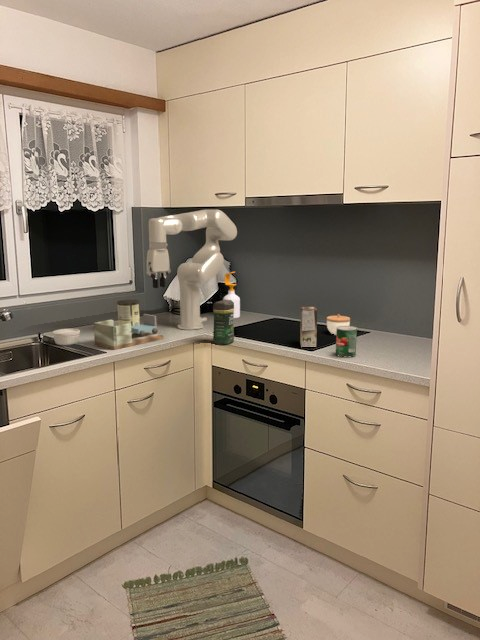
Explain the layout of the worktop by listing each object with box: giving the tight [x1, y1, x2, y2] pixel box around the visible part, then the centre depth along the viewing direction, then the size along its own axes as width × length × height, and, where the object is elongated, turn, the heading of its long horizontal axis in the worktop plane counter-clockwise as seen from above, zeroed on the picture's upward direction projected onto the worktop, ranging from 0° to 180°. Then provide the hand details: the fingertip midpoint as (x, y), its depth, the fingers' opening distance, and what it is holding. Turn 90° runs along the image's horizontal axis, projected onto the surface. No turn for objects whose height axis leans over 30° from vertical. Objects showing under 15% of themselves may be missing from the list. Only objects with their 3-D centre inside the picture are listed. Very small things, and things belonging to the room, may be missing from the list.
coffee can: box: [116, 299, 141, 326], centre depth 255 cm, size 10×10×14 cm
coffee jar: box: [212, 299, 235, 345], centre depth 230 cm, size 10×8×19 cm
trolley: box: [131, 313, 159, 336], centre depth 237 cm, size 10×10×8 cm
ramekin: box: [52, 328, 81, 346], centre depth 231 cm, size 11×11×5 cm
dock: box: [93, 319, 164, 351], centre depth 232 cm, size 26×14×10 cm, turn 138°
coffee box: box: [299, 305, 318, 348], centre depth 225 cm, size 9×6×16 cm
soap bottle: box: [222, 271, 241, 319], centre depth 286 cm, size 9×9×25 cm
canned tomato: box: [335, 325, 358, 357], centre depth 210 cm, size 8×8×11 cm
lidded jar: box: [326, 313, 351, 336], centre depth 247 cm, size 11×11×9 cm
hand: (159, 287), depth 242 cm, fingers open, 3 cm apart
